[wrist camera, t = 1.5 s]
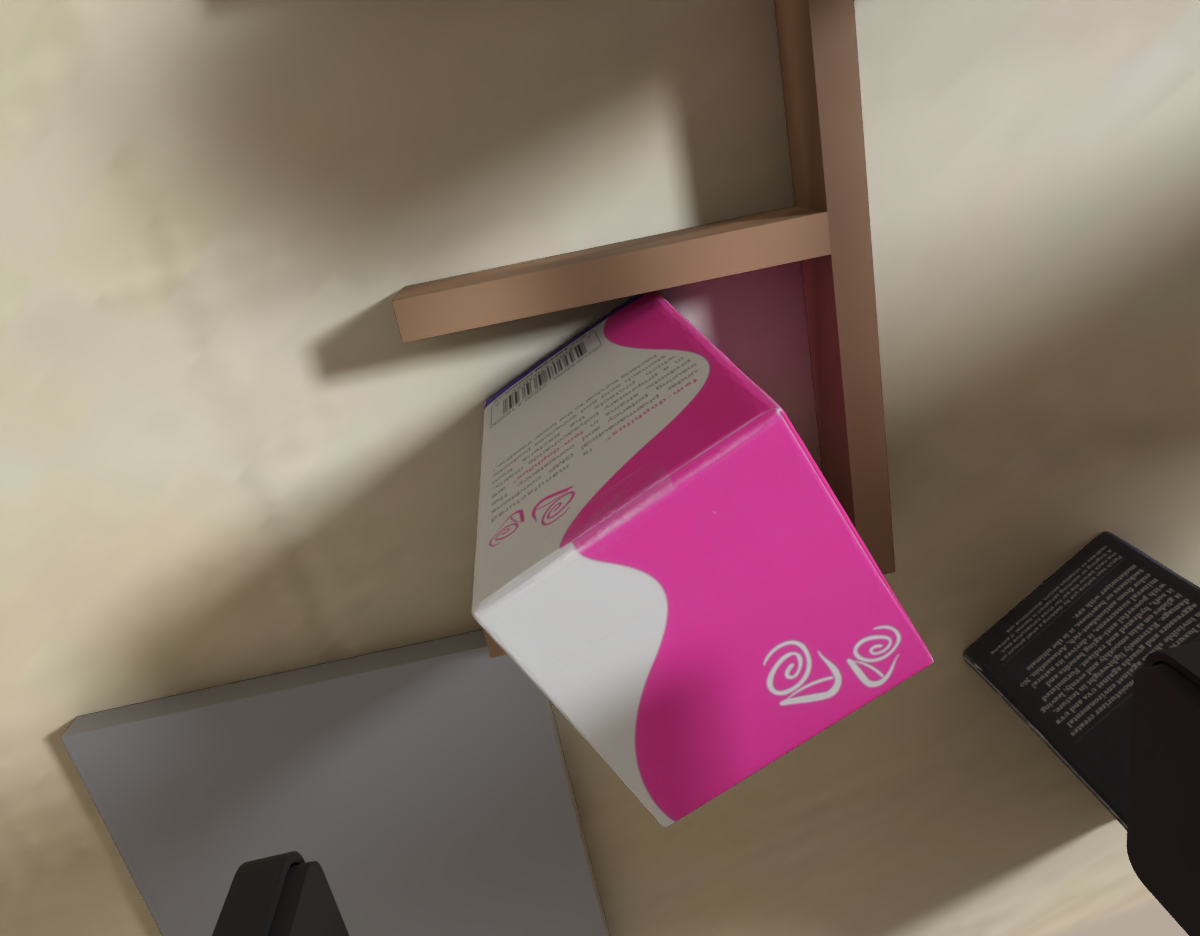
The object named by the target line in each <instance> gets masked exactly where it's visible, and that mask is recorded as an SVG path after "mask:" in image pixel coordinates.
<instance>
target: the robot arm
mask: <svg viewBox="0 0 1200 936" xmlns="http://www.w3.org/2000/svg"><path fill="white" fill-rule="evenodd" d="M1127 853H1128V856H1129V860H1130V862H1131V865H1132V867H1133V869H1134V871H1135V873H1136V874H1137V876H1138V878H1139V879H1140V880H1141V882H1142V883H1143V884H1144V885H1145V887H1146V888H1147V889H1148V890H1149V891H1150V892H1151V893H1152V894H1153V895H1154V897H1155V898H1156V899H1157V900H1158V901H1159V902H1160V903H1161V904H1162V906H1163V907H1164V908H1165V909H1166V910H1167V911H1168V912H1169V913H1170V915H1171V916H1172V917H1173V918H1174V919H1175V920H1176V921H1177V922H1178V924H1179V925H1180V926H1181V927H1182V928H1183V929H1184V930H1185V931H1186V932H1187V934H1188V935H1189V936H1200V641H1198V642H1193V643H1189V644H1185V645H1181V646H1176V647H1172V648H1168V649H1163V650H1159V651H1155V652H1152V653H1150V654H1149V655H1148V656H1147V657H1146V659H1145V661H1144V666H1143V668H1142V669H1139V670H1138V671H1137V672H1136V673H1135V676H1134V684H1133V708H1132V732H1131V756H1130V780H1129V804H1128V829H1127ZM212 936H349V933H348V931H347V928H346V926H345V923H344V921H343V918H342V916H341V914H340V911H339V909H338V906H337V904H336V901H335V899H334V896H333V894H332V891H331V889H330V886H329V884H328V881H327V879H326V876H325V874H324V871H323V869H322V867H321V865H320V864H319V863H318V862H317V861H311V862H305V861H304V859H303V857H302V855H301V854H300V853H298V852H297V851H292V852H287V853H283V854H279V855H274V856H270V857H266V858H261V859H257V860H253V861H249V862H244V863H243V864H242V865H241V866H239V868H238V870H237V872H236V874H235V876H234V878H233V881H232V884H231V886H230V889H229V892H228V894H227V897H226V899H225V902H224V905H223V907H222V910H221V913H220V915H219V918H218V921H217V923H216V926H215V929H214V931H213V934H212Z"/></svg>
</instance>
